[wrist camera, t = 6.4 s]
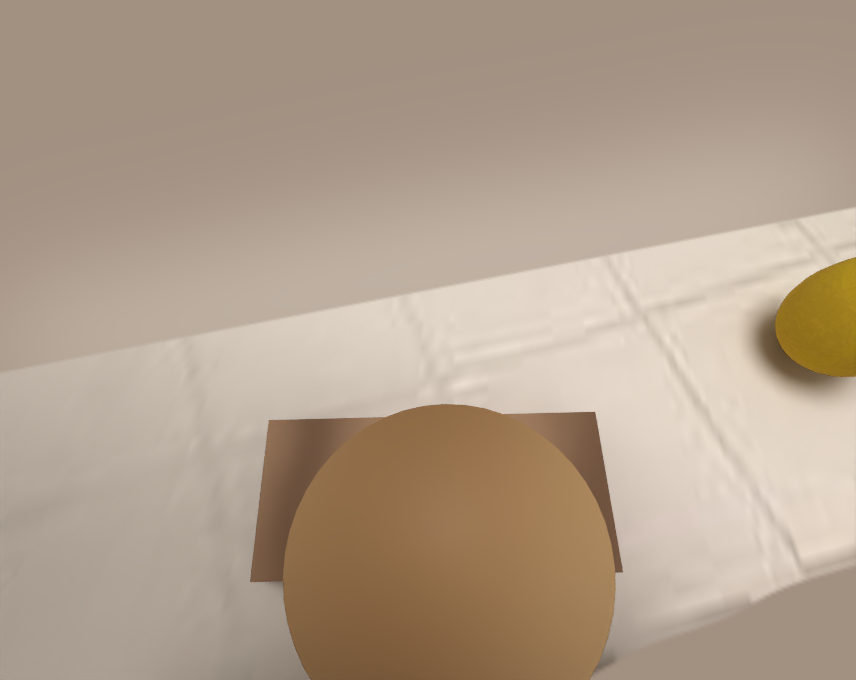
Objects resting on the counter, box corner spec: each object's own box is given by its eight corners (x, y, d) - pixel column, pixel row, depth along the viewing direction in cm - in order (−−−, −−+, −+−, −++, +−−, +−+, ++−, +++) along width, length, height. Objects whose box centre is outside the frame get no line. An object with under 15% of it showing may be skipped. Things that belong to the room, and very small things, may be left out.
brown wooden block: (269, 576, 21) (248, 582, 19) (284, 430, 24) (267, 419, 22) (602, 567, 21) (624, 572, 19) (579, 422, 24) (596, 411, 22)
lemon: (736, 301, 27) (851, 216, 20) (832, 311, 27) (985, 228, 19) (751, 388, 25) (885, 330, 17) (854, 400, 25) (1036, 345, 17)
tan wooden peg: (401, 476, 21) (278, 764, 4) (400, 411, 21) (287, 408, 4) (466, 475, 21) (631, 756, 4) (463, 409, 21) (600, 400, 4)
